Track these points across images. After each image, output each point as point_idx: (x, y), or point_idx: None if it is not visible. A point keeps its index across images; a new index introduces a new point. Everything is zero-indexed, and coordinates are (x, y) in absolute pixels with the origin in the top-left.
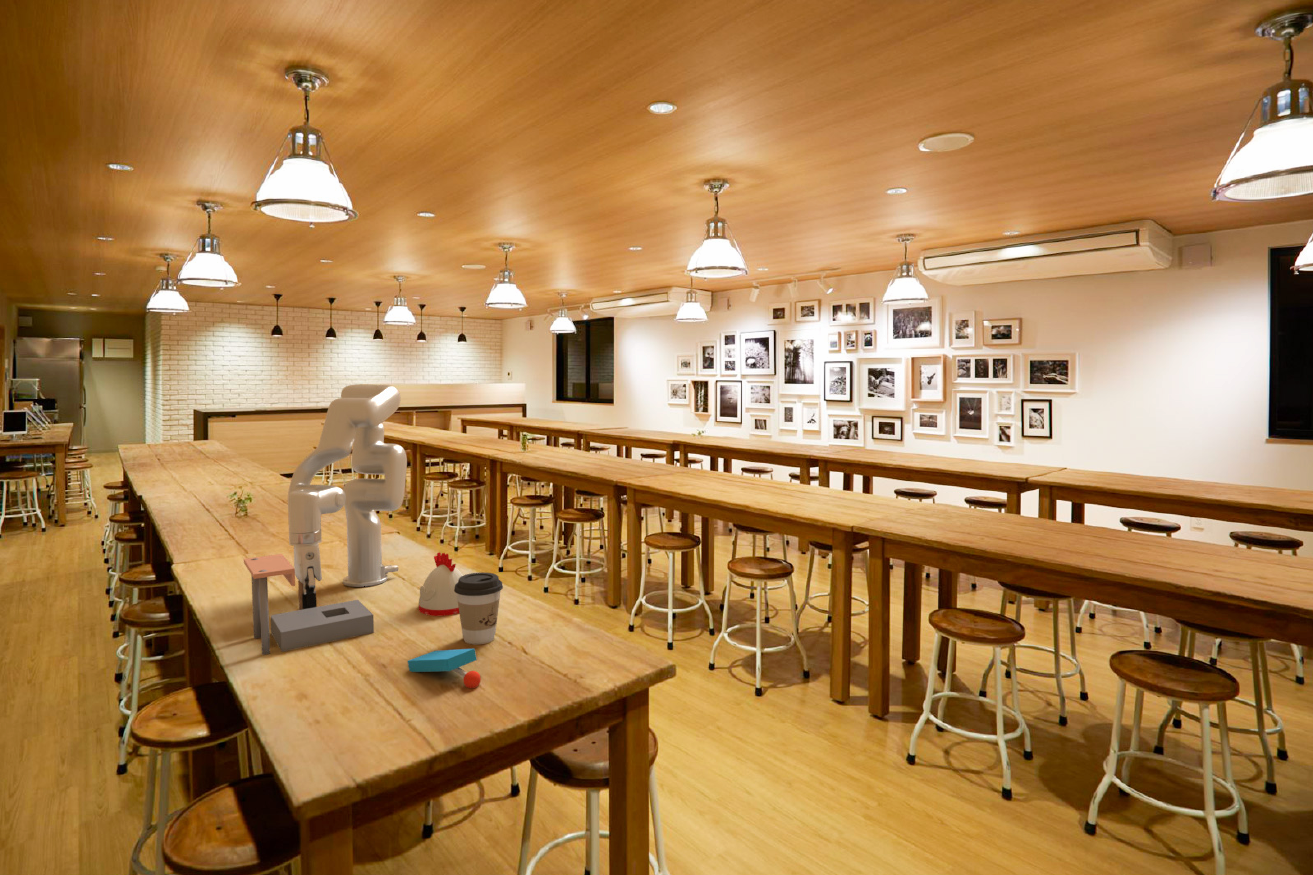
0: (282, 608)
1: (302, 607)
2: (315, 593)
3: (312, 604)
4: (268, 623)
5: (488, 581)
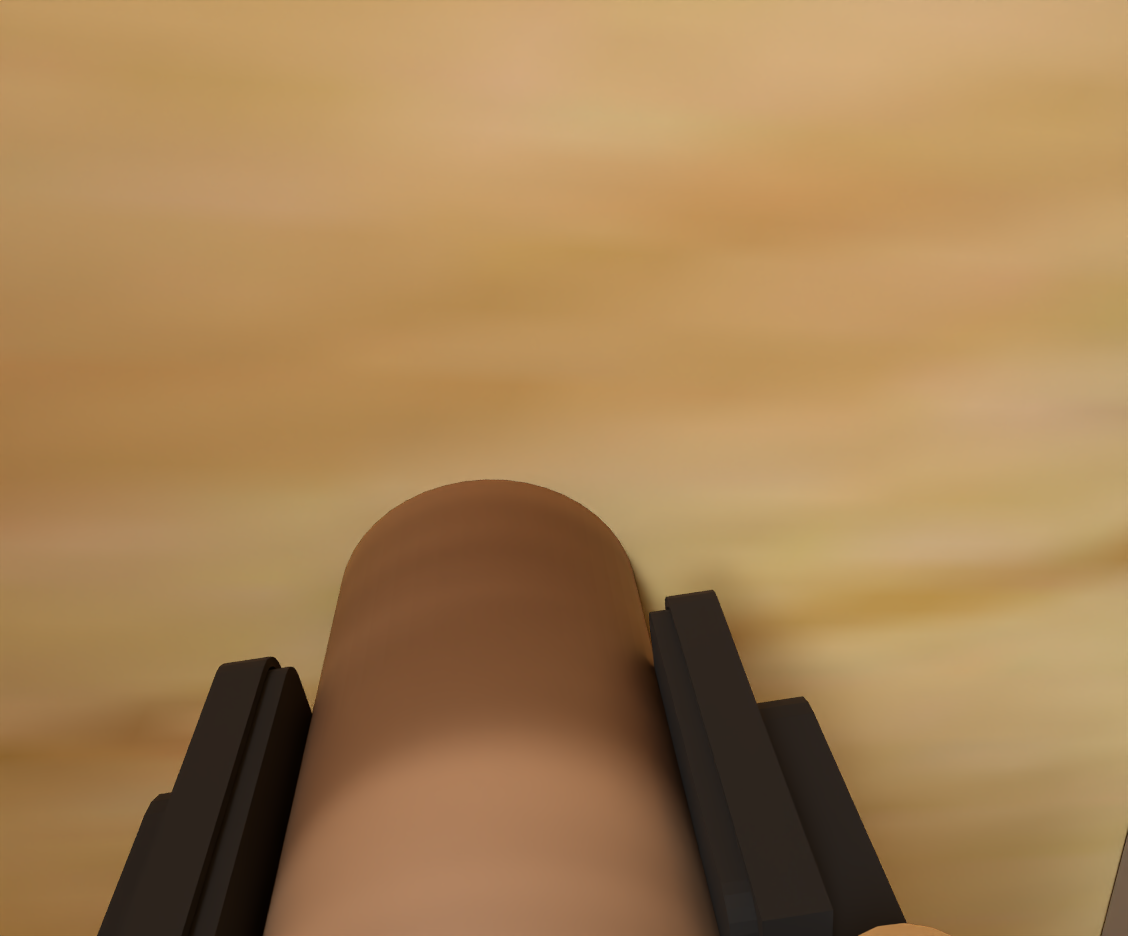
0: (9, 912)
1: None
2: (823, 890)
3: (807, 715)
4: None
5: None
